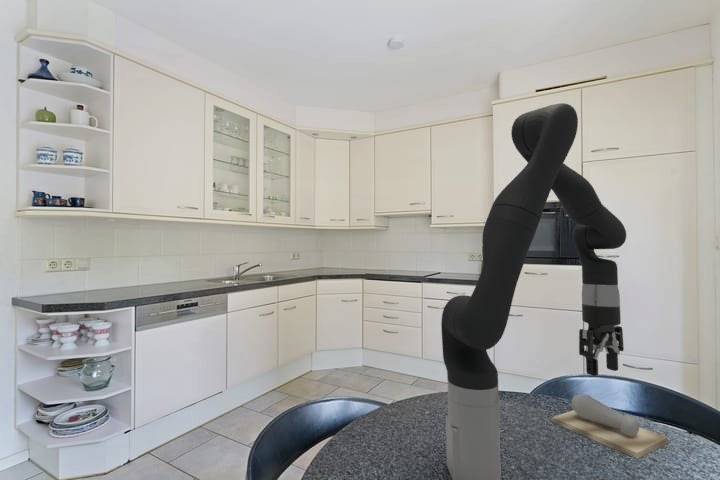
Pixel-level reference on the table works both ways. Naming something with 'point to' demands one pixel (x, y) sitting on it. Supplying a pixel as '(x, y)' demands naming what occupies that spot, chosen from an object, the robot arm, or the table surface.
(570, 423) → the birch board
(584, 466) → the table surface
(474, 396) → the robot arm
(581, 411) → the salt shaker
